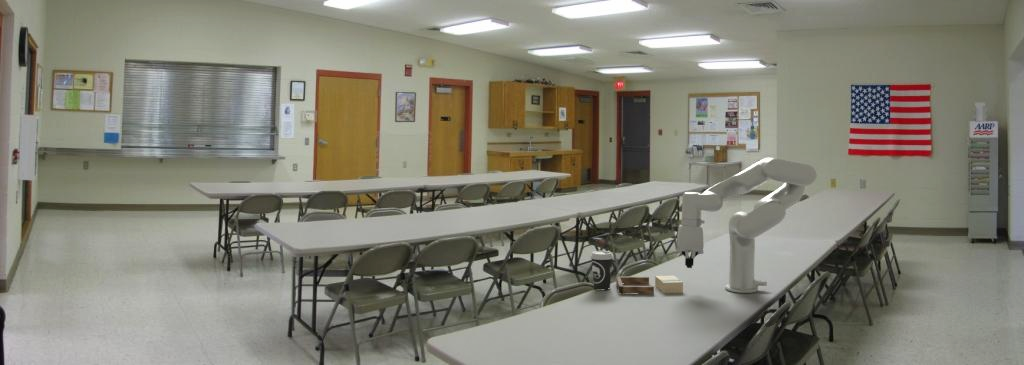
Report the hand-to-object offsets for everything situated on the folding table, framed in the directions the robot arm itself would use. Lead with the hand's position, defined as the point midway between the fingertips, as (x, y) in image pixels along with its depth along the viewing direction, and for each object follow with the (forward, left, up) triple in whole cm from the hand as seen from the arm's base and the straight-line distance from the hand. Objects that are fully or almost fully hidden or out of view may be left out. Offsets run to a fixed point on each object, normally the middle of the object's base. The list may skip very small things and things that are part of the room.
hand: (689, 267), depth 267 cm
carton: (+8, 0, -9) cm, 12 cm away
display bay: (+21, 0, -9) cm, 23 cm away
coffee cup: (+35, 0, -9) cm, 36 cm away
